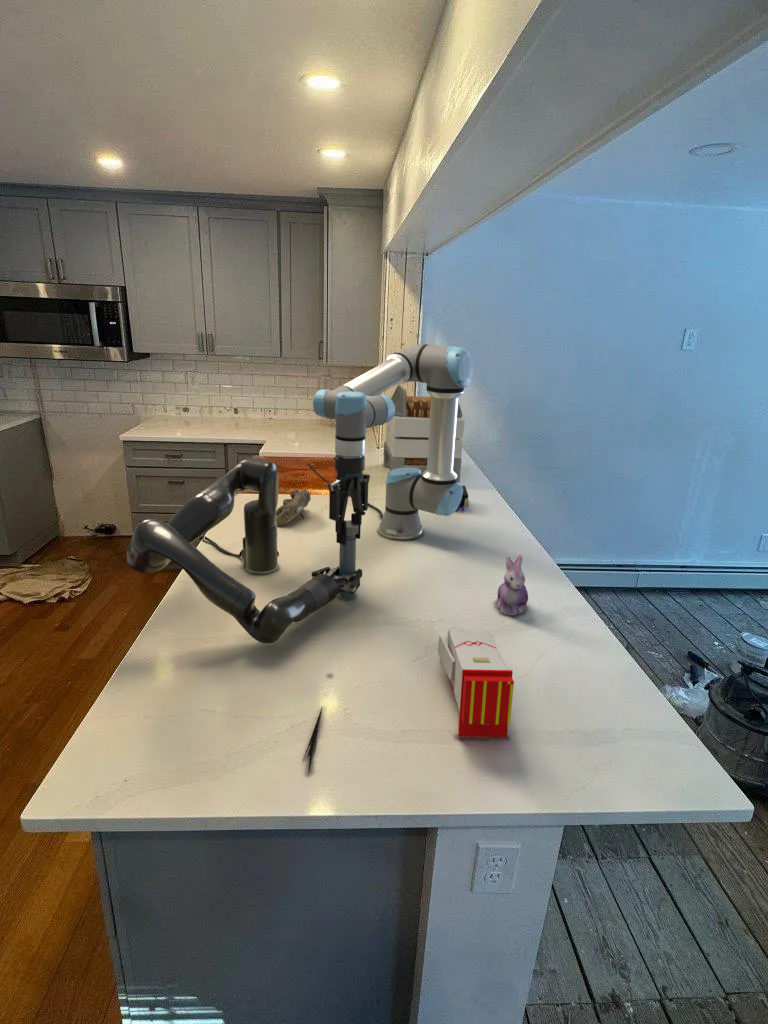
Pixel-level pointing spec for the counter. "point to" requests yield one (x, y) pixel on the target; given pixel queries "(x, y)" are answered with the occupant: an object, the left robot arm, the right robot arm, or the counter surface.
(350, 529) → the lid
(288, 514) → the fossil
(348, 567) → the bottle
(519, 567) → the figurine
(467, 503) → the figurine character
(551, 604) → the counter surface
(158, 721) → the counter surface
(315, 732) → the feather
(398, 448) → the white wooden crate
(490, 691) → the toy
